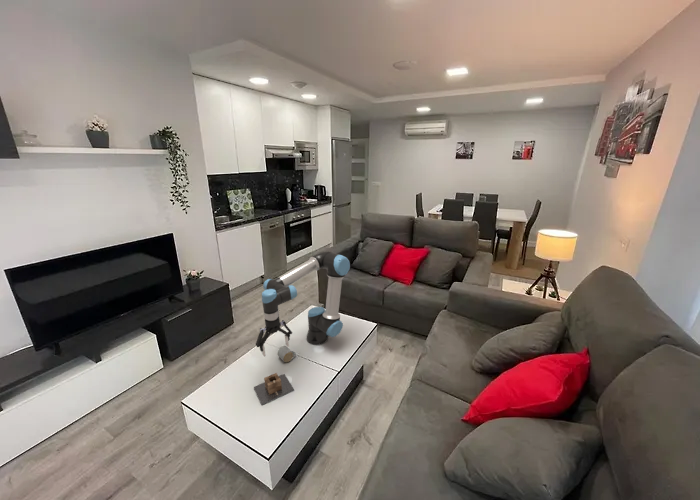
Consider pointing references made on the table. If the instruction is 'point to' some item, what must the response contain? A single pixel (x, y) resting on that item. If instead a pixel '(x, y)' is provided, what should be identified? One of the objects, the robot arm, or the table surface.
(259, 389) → the metal panel
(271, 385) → the brown cardboard box
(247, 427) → the table surface
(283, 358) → the ceramic mug
